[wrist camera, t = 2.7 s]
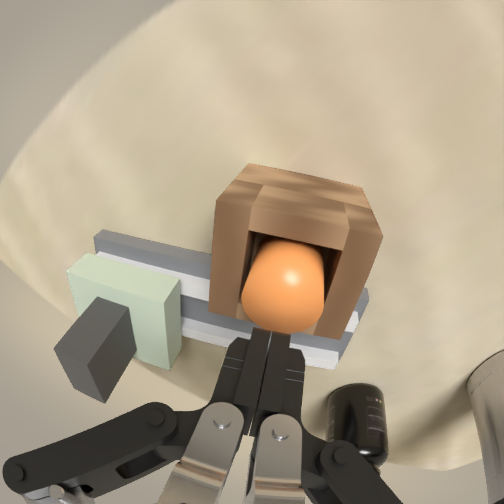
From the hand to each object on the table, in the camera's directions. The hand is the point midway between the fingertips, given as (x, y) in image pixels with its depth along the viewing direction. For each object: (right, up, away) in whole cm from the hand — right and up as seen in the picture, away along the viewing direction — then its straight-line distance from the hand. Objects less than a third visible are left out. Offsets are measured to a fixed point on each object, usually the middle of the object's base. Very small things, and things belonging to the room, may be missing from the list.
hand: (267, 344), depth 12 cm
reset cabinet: (+3, +6, +10) cm, 12 cm away
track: (-4, -1, +15) cm, 16 cm away
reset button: (+2, +3, +5) cm, 6 cm away
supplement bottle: (+12, -13, +19) cm, 26 cm away
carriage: (-11, -1, +13) cm, 17 cm away
